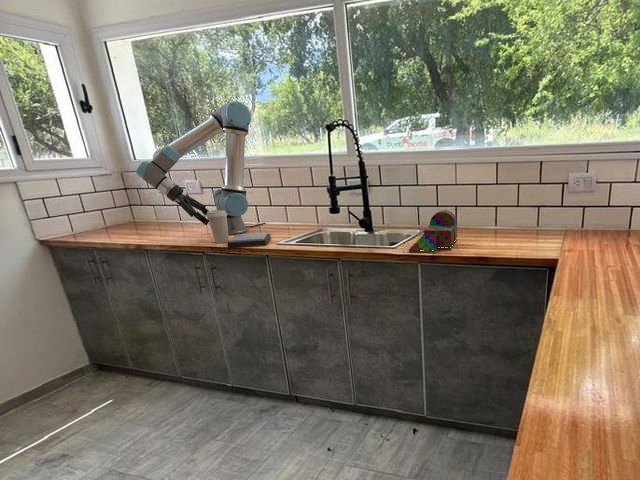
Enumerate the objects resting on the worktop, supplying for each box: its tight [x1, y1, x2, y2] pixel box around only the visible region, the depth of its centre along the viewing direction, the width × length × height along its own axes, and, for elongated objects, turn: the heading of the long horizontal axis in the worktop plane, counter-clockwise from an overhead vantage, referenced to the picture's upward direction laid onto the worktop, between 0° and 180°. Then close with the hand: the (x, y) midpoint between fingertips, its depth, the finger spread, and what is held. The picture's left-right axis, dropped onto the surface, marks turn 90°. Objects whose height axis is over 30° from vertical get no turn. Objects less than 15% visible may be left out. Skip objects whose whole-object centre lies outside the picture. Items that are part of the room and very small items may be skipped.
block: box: [408, 209, 458, 254], centre depth 196 cm, size 25×17×14 cm
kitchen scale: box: [226, 232, 272, 249], centre depth 217 cm, size 18×17×3 cm
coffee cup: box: [205, 209, 230, 244], centre depth 218 cm, size 10×10×15 cm
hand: (211, 220), depth 217 cm, fingers open, 13 cm apart
